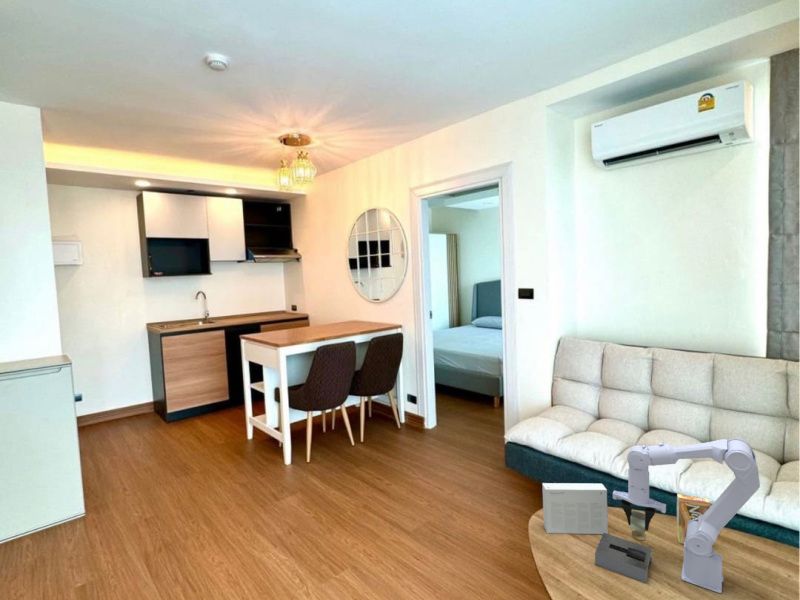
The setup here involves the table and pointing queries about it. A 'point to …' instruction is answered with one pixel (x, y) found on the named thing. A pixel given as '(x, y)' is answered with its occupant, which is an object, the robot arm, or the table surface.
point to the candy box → (689, 512)
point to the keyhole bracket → (623, 557)
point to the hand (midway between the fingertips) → (638, 526)
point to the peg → (638, 525)
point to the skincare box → (575, 508)
